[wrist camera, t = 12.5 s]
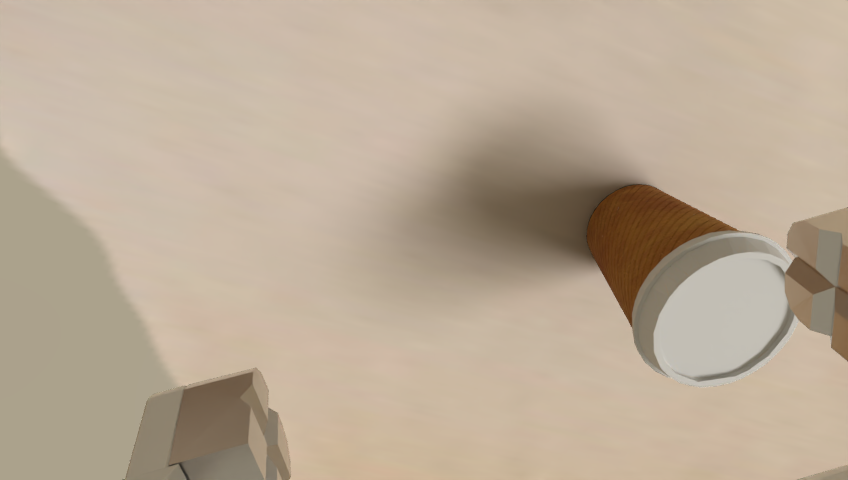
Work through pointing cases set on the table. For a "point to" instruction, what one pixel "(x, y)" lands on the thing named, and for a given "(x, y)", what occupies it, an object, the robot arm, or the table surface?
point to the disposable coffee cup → (692, 286)
